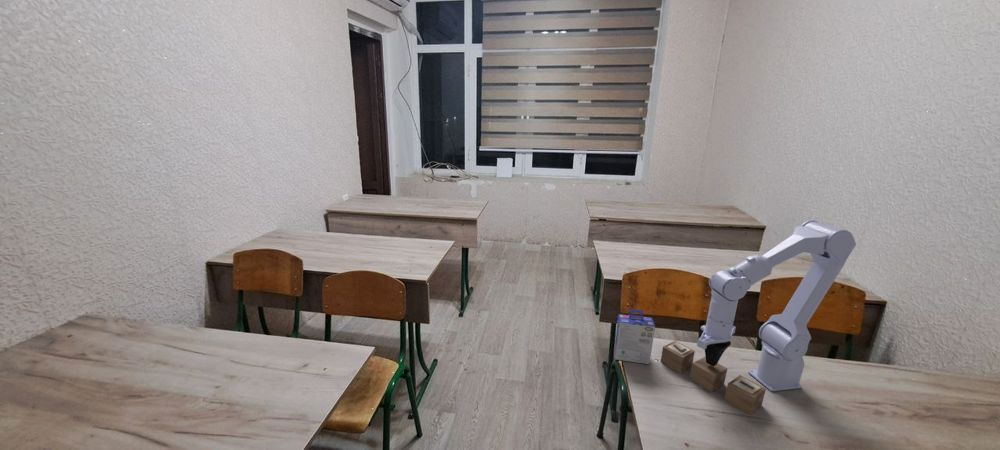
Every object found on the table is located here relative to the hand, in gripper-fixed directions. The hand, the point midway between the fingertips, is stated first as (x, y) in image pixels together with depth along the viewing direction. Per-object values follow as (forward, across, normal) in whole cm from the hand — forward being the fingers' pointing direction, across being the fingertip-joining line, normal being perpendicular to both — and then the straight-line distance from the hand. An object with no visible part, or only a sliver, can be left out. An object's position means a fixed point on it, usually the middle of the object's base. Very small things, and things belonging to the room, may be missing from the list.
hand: (711, 363), depth 100 cm
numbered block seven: (+6, 0, -9) cm, 11 cm away
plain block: (+6, 0, 0) cm, 6 cm away
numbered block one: (+6, 0, +9) cm, 11 cm away
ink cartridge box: (+6, +9, -18) cm, 21 cm away
